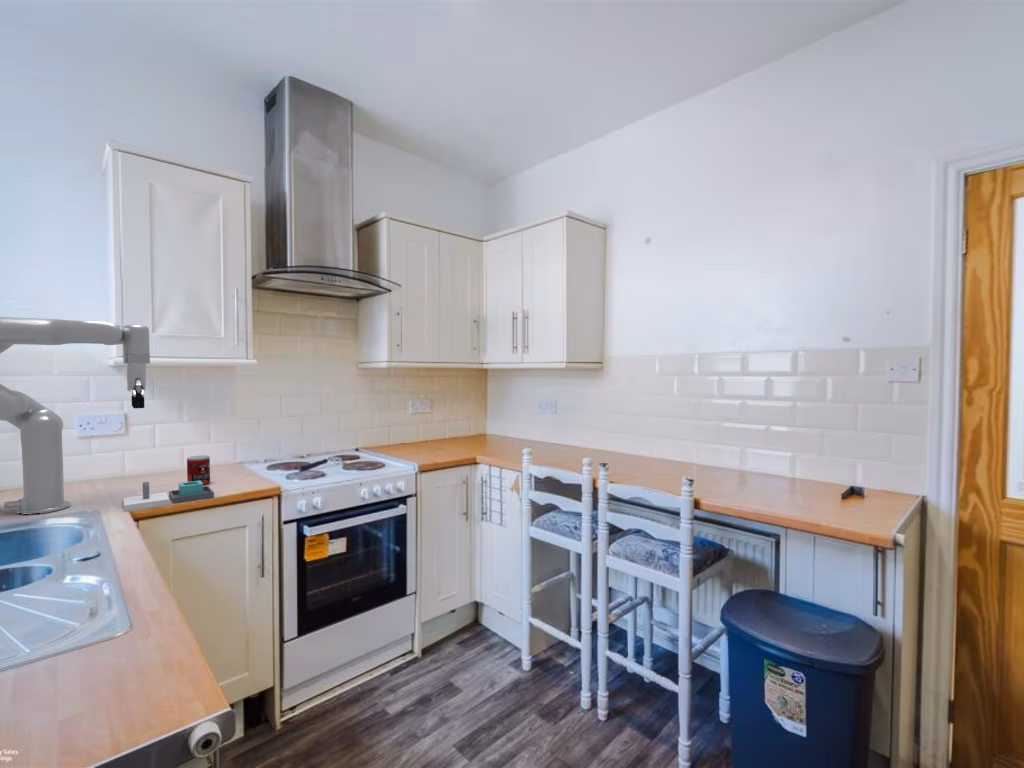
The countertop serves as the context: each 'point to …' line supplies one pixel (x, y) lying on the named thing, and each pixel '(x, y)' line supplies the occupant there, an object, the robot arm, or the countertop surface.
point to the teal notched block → (190, 488)
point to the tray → (205, 495)
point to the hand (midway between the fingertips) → (138, 407)
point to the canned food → (198, 469)
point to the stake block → (145, 500)
